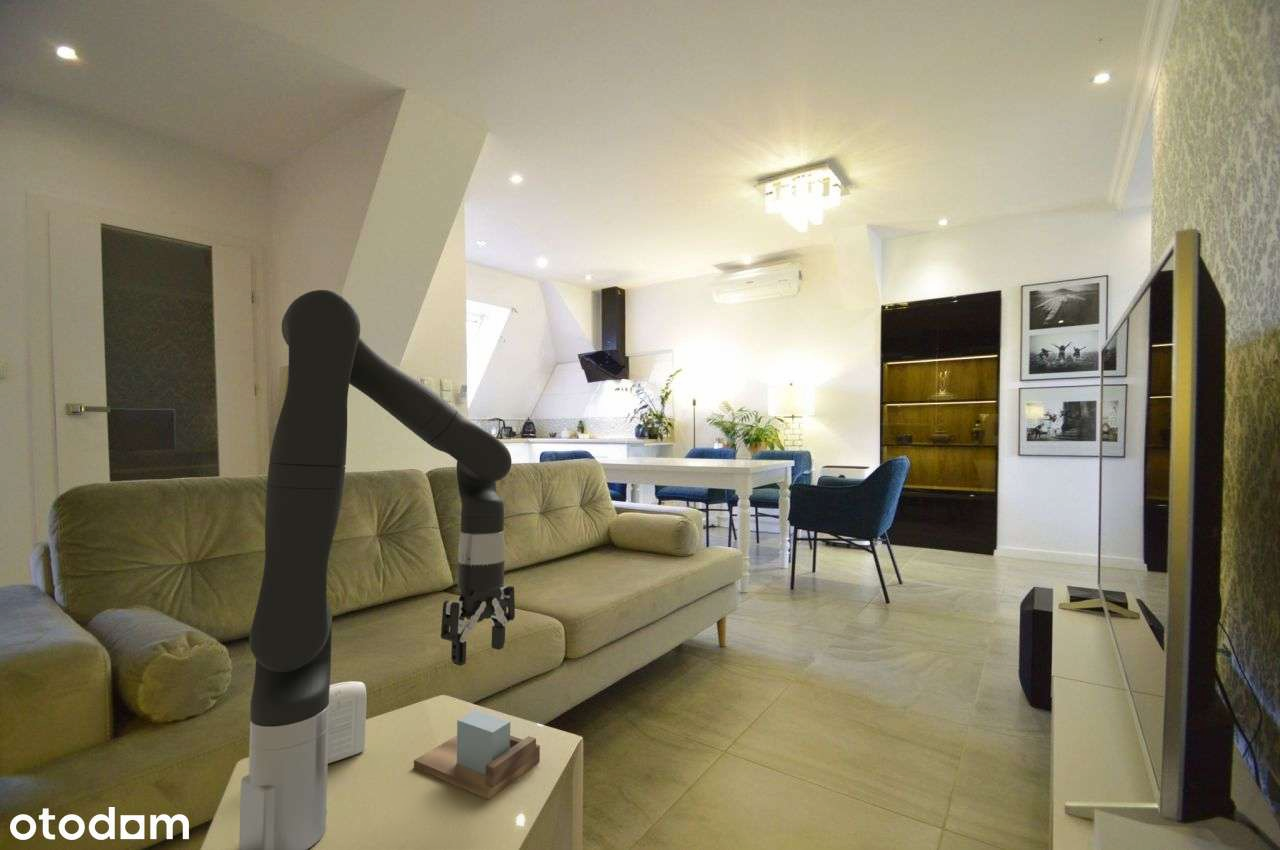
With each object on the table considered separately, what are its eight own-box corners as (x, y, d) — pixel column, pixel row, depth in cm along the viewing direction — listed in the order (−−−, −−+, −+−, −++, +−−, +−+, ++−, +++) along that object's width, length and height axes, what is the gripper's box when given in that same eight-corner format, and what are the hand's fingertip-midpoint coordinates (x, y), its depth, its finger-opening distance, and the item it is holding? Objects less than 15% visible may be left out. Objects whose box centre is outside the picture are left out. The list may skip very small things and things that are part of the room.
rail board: (488, 799, 85) (488, 771, 85) (413, 767, 93) (414, 741, 93) (539, 761, 95) (539, 735, 95) (468, 735, 104) (468, 712, 104)
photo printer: (360, 742, 101) (362, 673, 102) (368, 751, 98) (370, 680, 99) (295, 764, 94) (297, 690, 95) (302, 775, 91) (304, 698, 92)
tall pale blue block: (492, 777, 88) (492, 732, 89) (456, 763, 92) (457, 720, 93) (509, 765, 92) (510, 721, 92) (474, 751, 96) (475, 710, 96)
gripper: (464, 568, 86) (462, 675, 85) (527, 554, 98) (525, 647, 97) (431, 562, 90) (428, 665, 89) (495, 549, 102) (493, 639, 101)
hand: (479, 656), depth 93 cm, fingers open, 8 cm apart
